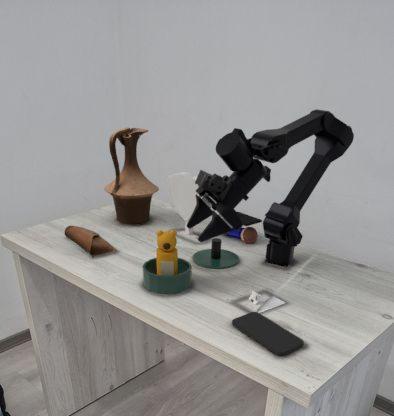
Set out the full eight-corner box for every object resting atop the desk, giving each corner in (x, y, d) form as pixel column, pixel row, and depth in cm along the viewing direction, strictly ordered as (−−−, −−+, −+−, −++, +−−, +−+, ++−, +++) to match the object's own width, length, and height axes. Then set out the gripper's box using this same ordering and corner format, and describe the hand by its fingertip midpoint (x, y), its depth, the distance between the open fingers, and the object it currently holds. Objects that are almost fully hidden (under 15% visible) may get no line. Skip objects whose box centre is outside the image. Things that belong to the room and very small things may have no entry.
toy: (157, 278, 115) (155, 226, 107) (177, 278, 115) (177, 226, 107) (157, 288, 110) (155, 234, 103) (177, 288, 111) (177, 234, 103)
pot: (199, 281, 115) (200, 263, 112) (174, 300, 106) (174, 280, 104) (161, 270, 119) (161, 253, 117) (134, 287, 111) (133, 268, 108)
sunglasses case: (118, 249, 129) (105, 232, 124) (100, 266, 128) (86, 249, 123) (90, 231, 141) (77, 214, 136) (73, 246, 140) (60, 230, 135)
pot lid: (246, 258, 127) (248, 237, 124) (225, 275, 118) (226, 252, 115) (207, 249, 132) (207, 228, 129) (183, 263, 123) (183, 242, 120)
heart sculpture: (212, 241, 137) (215, 179, 127) (201, 245, 134) (202, 182, 124) (177, 227, 146) (177, 168, 136) (165, 231, 143) (164, 171, 133)
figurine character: (214, 237, 144) (245, 247, 133) (213, 213, 140) (246, 221, 129) (230, 233, 147) (262, 242, 136) (230, 209, 143) (263, 217, 133)
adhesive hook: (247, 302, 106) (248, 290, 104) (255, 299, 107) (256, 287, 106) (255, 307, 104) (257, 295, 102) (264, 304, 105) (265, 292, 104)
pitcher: (135, 233, 142) (130, 134, 126) (95, 222, 149) (85, 127, 133) (169, 218, 154) (168, 126, 138) (130, 208, 161) (124, 120, 145)
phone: (280, 354, 88) (229, 320, 97) (279, 357, 88) (229, 323, 98) (306, 342, 91) (255, 310, 101) (305, 345, 92) (254, 313, 101)
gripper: (205, 148, 107) (159, 199, 110) (233, 167, 92) (180, 225, 96) (234, 181, 113) (190, 228, 117) (265, 204, 99) (214, 257, 102)
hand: (193, 233), depth 108 cm, fingers open, 9 cm apart
